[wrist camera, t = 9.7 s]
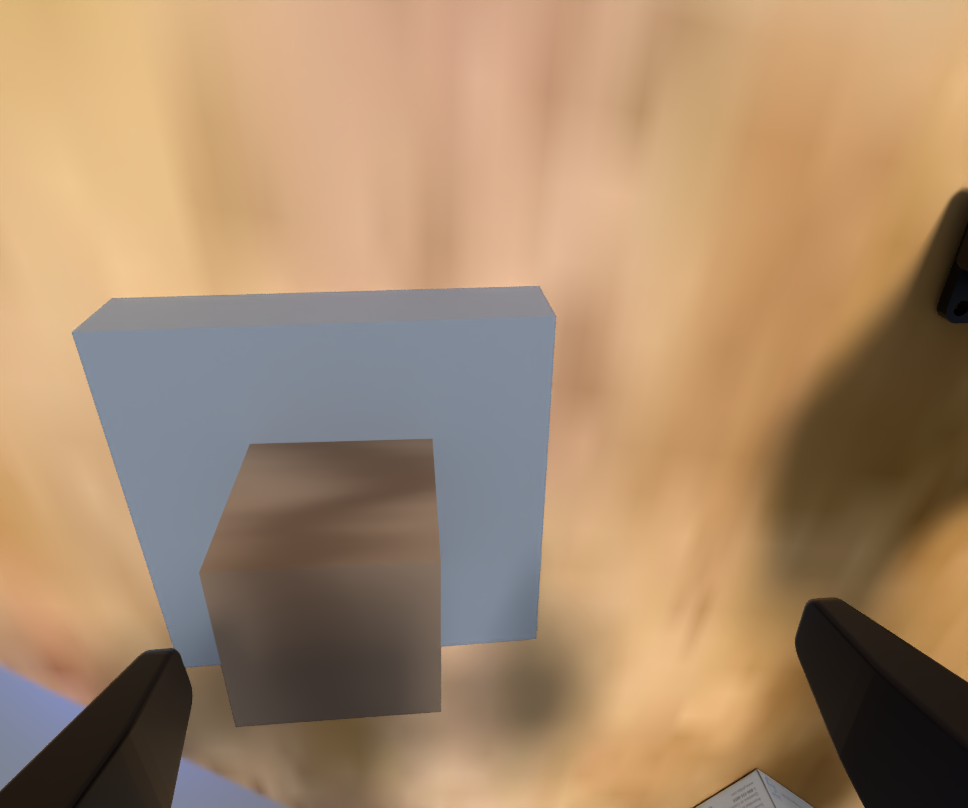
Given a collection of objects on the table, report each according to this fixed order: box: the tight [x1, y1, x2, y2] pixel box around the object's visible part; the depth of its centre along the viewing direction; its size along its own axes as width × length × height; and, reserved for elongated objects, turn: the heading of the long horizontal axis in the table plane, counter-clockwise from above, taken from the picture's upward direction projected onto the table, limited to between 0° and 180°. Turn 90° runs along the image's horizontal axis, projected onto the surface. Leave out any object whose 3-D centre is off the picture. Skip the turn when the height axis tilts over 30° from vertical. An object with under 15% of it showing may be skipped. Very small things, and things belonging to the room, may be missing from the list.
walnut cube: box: [199, 439, 441, 727], centre depth 17 cm, size 5×5×5 cm
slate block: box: [72, 286, 556, 668], centre depth 21 cm, size 12×12×3 cm
